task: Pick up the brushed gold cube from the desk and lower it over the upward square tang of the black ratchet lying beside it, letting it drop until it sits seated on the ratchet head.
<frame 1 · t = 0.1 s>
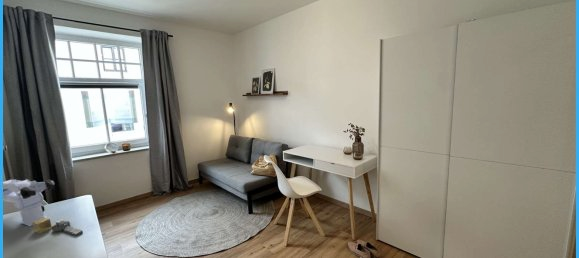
hand: (44, 189, 128), 22 cm above the table, tool horizontal, fingers open, 7 cm apart
push button: (37, 212, 151), on the table
ratchet: (61, 228, 132), on the table
brushed gold cube: (43, 229, 132), on the table
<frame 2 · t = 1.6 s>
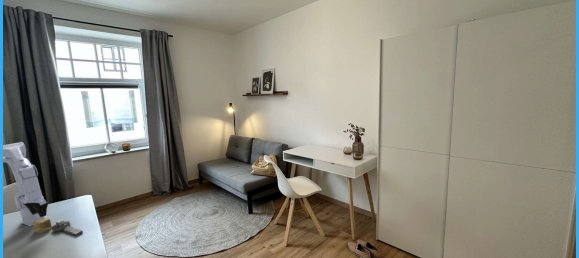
hand: (39, 215, 130), 8 cm above the table, tool pointing down, fingers open, 7 cm apart
nothing on the table moved.
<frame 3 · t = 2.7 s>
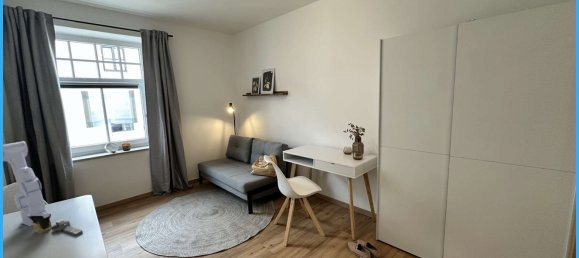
hand: (42, 227, 132), 1 cm above the table, tool pointing down, fingers closed on brushed gold cube, 5 cm apart
brushed gold cube: (43, 229, 132), on the table, touching gripper
everything else where it was.
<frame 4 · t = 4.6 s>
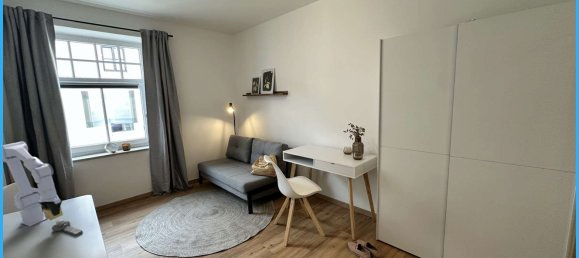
hand: (53, 213, 130), 9 cm above the table, tool pointing down, fingers closed on brushed gold cube, 5 cm apart
brushed gold cube: (54, 216, 131), point 7 cm above the table, touching gripper
everything else where it was.
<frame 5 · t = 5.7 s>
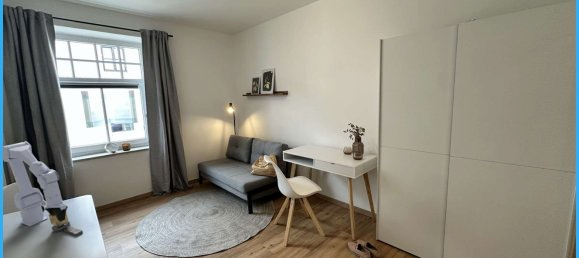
hand: (59, 219, 131), 5 cm above the table, tool pointing down, fingers closed on brushed gold cube, 5 cm apart
brushed gold cube: (59, 222, 132), point 4 cm above the table, touching gripper
everything else where it was.
when the fingers open (4 cm above the table, at t = 6.4 s): brushed gold cube stays where it is, resting on ratchet.
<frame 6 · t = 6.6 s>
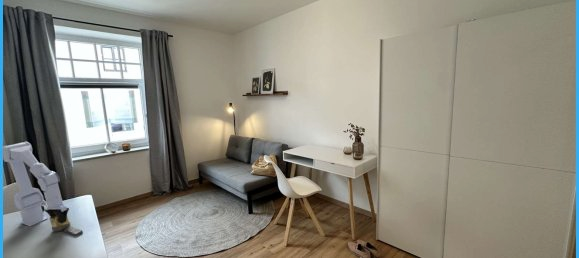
hand: (59, 221, 132), 4 cm above the table, tool pointing down, fingers open, 6 cm apart
ratchet: (61, 228, 133), on the table, touching brushed gold cube
brushed gold cube: (60, 225, 132), point 2 cm above the table, touching ratchet
everything else where it was.
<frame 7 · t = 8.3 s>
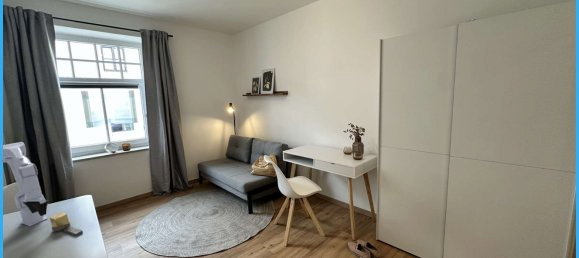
hand: (39, 213, 130), 9 cm above the table, tool pointing down, fingers open, 7 cm apart
nothing on the table moved.
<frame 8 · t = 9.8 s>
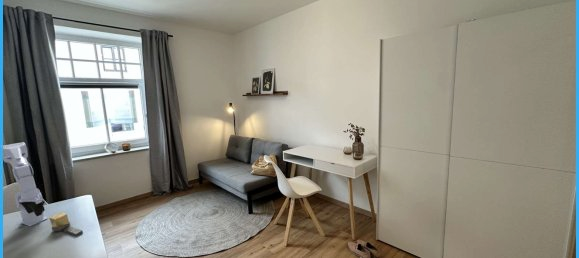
hand: (35, 213, 129), 9 cm above the table, tool pointing down, fingers open, 7 cm apart
nothing on the table moved.
at the end: brushed gold cube 0.0 cm off-centre on the ratchet, point 2.0 cm above the ratchet's base; brushed gold cube tilted 0°; the gripper is holding nothing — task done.
